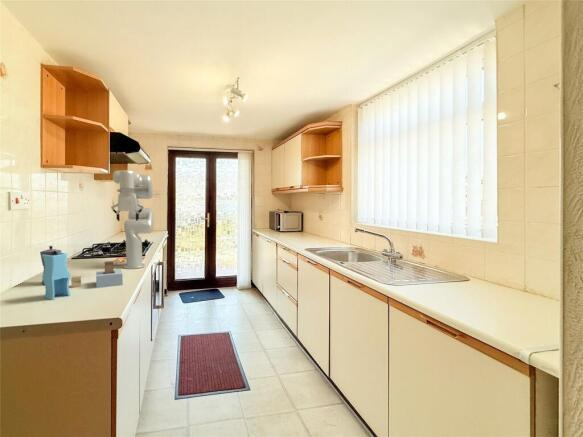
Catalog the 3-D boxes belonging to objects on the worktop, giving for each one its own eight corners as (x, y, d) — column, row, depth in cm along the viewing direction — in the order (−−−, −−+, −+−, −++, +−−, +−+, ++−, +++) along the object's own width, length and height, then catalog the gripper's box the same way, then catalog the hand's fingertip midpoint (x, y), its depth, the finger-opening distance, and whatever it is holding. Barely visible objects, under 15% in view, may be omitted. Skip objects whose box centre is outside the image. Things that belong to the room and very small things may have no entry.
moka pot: (57, 279, 190) (56, 243, 189) (69, 283, 182) (68, 246, 180) (37, 282, 183) (35, 245, 181) (48, 287, 174) (47, 248, 172)
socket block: (96, 282, 184) (96, 271, 184) (121, 279, 190) (120, 269, 190) (96, 287, 174) (96, 276, 174) (122, 284, 180) (122, 273, 180)
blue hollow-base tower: (61, 293, 164) (60, 252, 163) (70, 295, 161) (69, 253, 159) (43, 297, 157) (41, 254, 156) (52, 300, 154) (50, 256, 152)
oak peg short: (72, 286, 177) (71, 276, 177) (81, 285, 179) (80, 275, 179) (71, 287, 174) (71, 278, 173) (80, 286, 176) (80, 277, 175)
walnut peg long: (104, 283, 183) (104, 261, 182) (113, 282, 185) (112, 260, 184) (105, 285, 179) (104, 262, 179) (113, 284, 182) (113, 261, 181)
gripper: (110, 191, 191) (111, 221, 192) (144, 191, 200) (144, 220, 201) (110, 191, 198) (110, 220, 199) (142, 191, 206) (142, 219, 208)
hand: (127, 220), depth 200 cm, fingers open, 9 cm apart
